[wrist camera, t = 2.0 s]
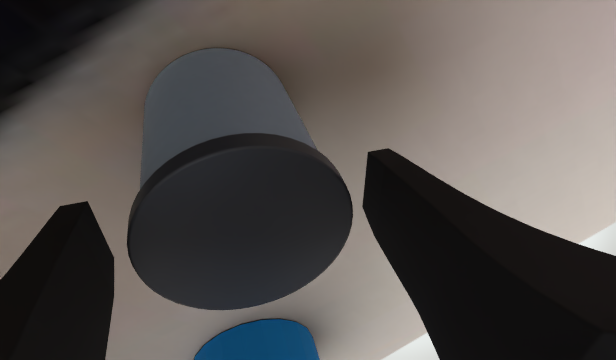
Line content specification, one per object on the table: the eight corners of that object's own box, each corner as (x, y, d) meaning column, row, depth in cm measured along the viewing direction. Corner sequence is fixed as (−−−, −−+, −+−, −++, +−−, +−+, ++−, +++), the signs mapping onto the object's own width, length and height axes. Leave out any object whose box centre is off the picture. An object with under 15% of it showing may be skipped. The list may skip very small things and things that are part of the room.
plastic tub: (198, 199, 16) (214, 335, 12) (100, 95, 13) (67, 231, 8) (315, 133, 16) (379, 247, 11) (247, 8, 13) (299, 100, 8)
